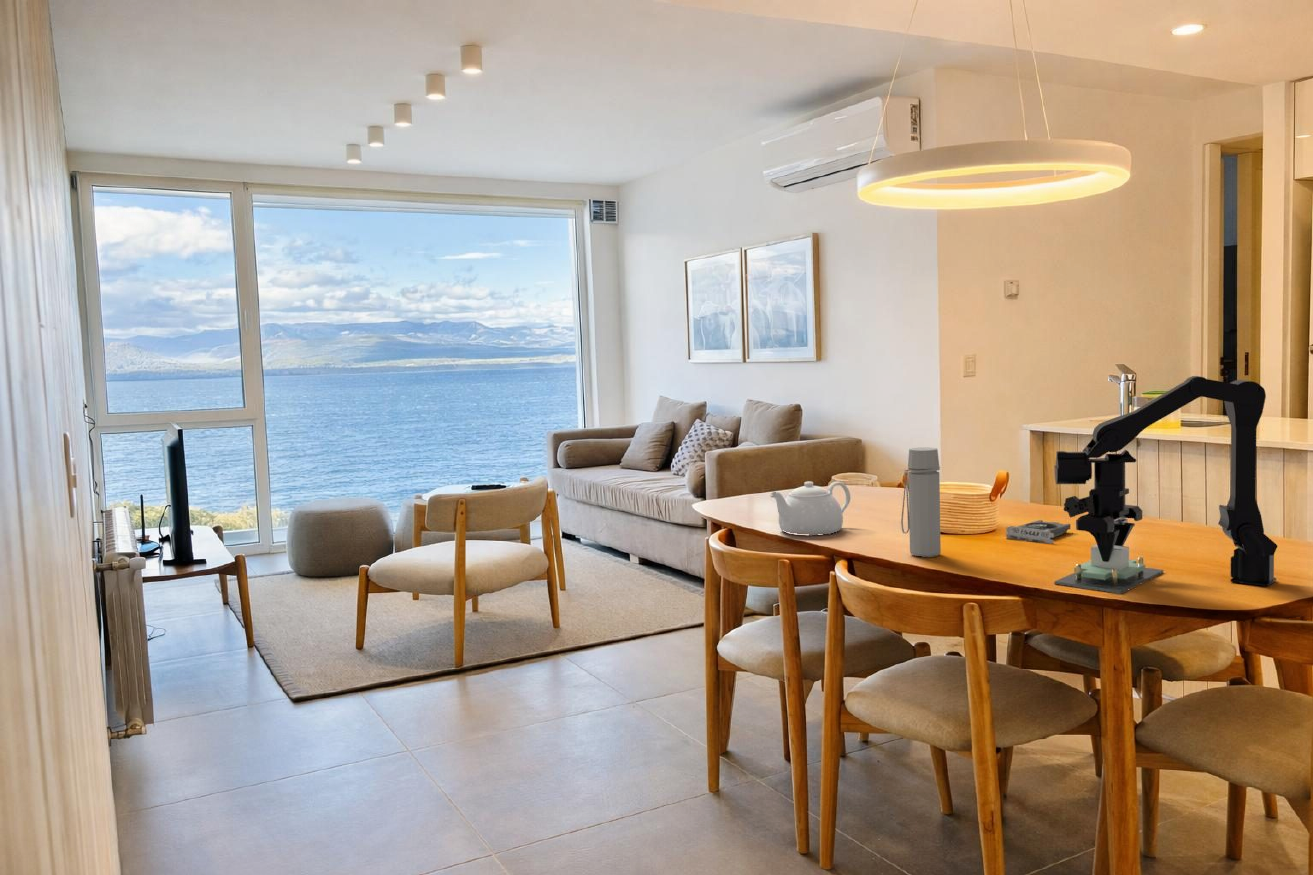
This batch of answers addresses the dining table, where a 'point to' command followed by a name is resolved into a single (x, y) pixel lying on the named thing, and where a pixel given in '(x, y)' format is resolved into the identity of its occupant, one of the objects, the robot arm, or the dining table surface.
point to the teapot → (811, 509)
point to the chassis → (1109, 580)
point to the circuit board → (1108, 572)
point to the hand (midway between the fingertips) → (1109, 559)
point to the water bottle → (923, 502)
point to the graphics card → (1037, 531)
